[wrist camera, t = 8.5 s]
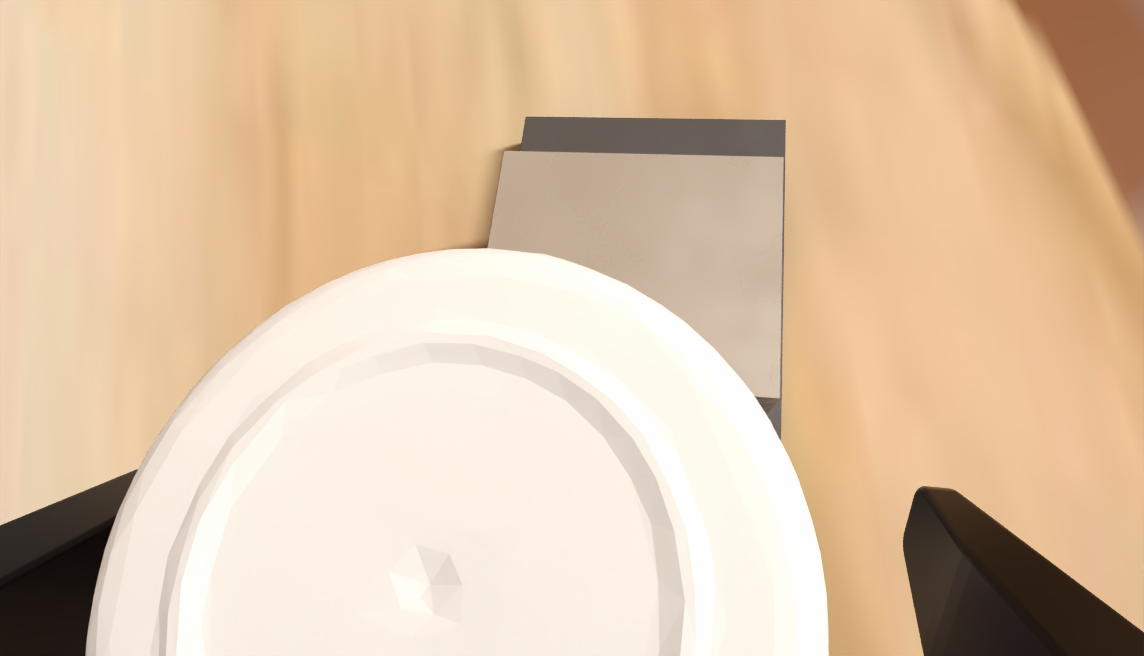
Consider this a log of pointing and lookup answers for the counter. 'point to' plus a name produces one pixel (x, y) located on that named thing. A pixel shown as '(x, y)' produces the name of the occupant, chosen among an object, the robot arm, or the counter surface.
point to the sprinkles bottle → (465, 483)
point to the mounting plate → (664, 222)
